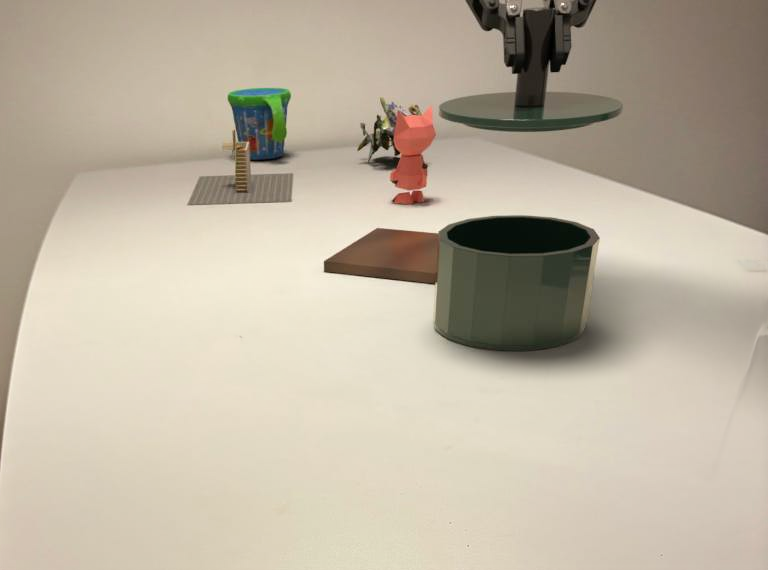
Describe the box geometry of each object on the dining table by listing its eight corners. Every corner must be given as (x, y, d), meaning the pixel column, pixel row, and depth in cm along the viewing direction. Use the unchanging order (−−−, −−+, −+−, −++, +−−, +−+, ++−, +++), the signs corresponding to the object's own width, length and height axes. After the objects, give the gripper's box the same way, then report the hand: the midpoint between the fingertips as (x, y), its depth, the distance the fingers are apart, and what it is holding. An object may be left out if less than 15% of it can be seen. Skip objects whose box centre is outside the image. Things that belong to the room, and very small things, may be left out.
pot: (599, 311, 96) (613, 222, 91) (563, 359, 86) (577, 262, 81) (461, 295, 102) (467, 210, 96) (412, 339, 91) (416, 247, 86)
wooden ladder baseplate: (187, 204, 140) (181, 144, 135) (199, 176, 155) (195, 121, 151) (291, 201, 139) (289, 140, 134) (293, 173, 155) (291, 118, 150)
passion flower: (411, 199, 160) (426, 143, 149) (348, 187, 160) (358, 130, 149) (419, 147, 164) (434, 89, 152) (358, 135, 164) (368, 76, 152)
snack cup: (220, 152, 171) (216, 88, 165) (275, 147, 174) (273, 83, 168) (247, 168, 160) (243, 99, 153) (305, 161, 162) (304, 94, 156)
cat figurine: (416, 193, 140) (420, 101, 133) (445, 201, 136) (451, 106, 128) (377, 200, 138) (379, 107, 130) (405, 209, 133) (409, 112, 126)
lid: (637, 108, 86) (654, 0, 81) (598, 140, 75) (616, 16, 70) (470, 103, 92) (477, 2, 87) (411, 131, 81) (416, 17, 76)
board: (513, 250, 115) (515, 240, 114) (472, 288, 103) (472, 277, 103) (376, 237, 121) (377, 227, 121) (323, 271, 110) (323, 260, 109)
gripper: (454, -154, 78) (459, 35, 76) (626, -163, 77) (637, 27, 75) (444, -74, 85) (448, 101, 83) (601, -81, 85) (610, 94, 82)
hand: (538, 65), depth 79 cm, fingers closed on lid, 2 cm apart
